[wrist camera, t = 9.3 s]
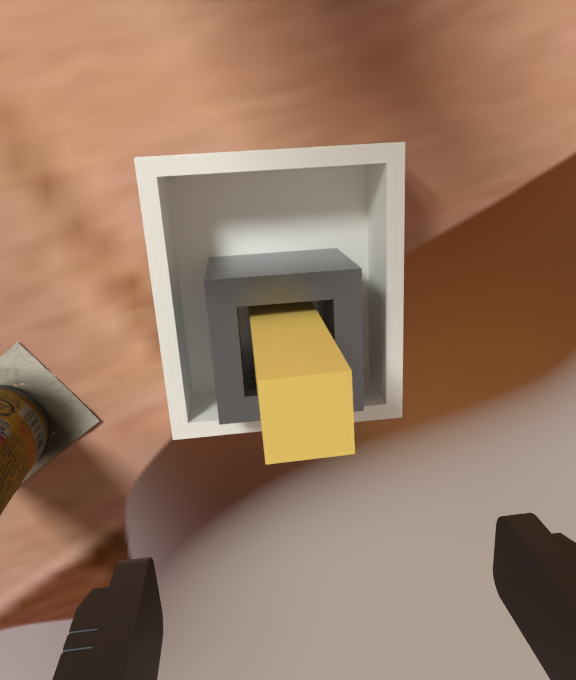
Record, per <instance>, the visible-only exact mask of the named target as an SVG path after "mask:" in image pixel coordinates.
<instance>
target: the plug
mask: <svg viewBox="0 0 576 680" xmlns="http://www.w3.org/2000/svg"><path fill="white" fill-rule="evenodd" d="M248 308H249V318H250V328H251V338H252V348H253V358H254V367H255V376H256V384H257V393H258V402H259V411H260V420H261V428H262V437H263V446H264V454H265V463H266V464H274V463H283V462H291V461H299V460H308V459H316V458H325V457H333V456H342V455H350V454H355V441H354V414H353V389H352V370H351V368H350V367H349V365H348V363H347V361H346V360H345V358H344V356H343V355H342V353H341V351H340V349H339V348H338V346H337V344H336V343H335V341H334V339H333V337H332V336H331V334H330V332H329V330H328V329H327V327H326V325H325V324H324V322H323V320H322V318H321V317H320V315H319V313H318V311H317V310H316V308H315V306H314V305H313V303H312V301H306V302H294V303H281V304H269V305H256V306H248Z"/></svg>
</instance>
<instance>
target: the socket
mask: <svg viewBox="0 0 576 680" xmlns="http://www.w3.org/2000/svg"><path fill="white" fill-rule="evenodd" d="M204 287H205V296H206V306H207V315H208V324H209V334H210V343H211V352H212V362H213V371H214V380H215V390H216V399H217V408H218V418H219V425H222V424H232V423H243V422H253V421H261V420H260V411H259V402H258V393H257V384H256V376H255V367H254V358H253V348H252V338H251V328H250V318H249V308H248V306H256V305H269V304H281V303H294V302H306V301H312V303H313V305H314V306H315V308H316V310H317V311H318V313H319V315H320V317H321V318H322V320H323V322H324V324H325V325H326V327H327V329H328V330H329V332H330V334H331V336H332V337H333V339H334V341H335V343H336V344H337V346H338V348H339V349H340V351H341V353H342V355H343V356H344V358H345V360H346V361H347V363H348V365H349V367H350V368H351V370H352V389H353V412H357V411H364V391H363V317H362V268H361V267H359V266H358V265H357V264H356V263H355V262H353V261H352V260H351V259H350V258H348V257H347V256H346V255H345V254H343V253H342V252H341V251H340V250H338V249H337V248H330V249H316V250H302V251H288V252H274V253H261V254H247V255H233V256H219V257H209V260H208V265H207V269H206V273H205V277H204Z"/></svg>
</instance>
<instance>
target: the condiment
mask: <svg viewBox="0 0 576 680" xmlns="http://www.w3.org/2000/svg"><path fill="white" fill-rule="evenodd" d="M14 383H17V386H14V385H13V384H14ZM19 383H24V384H25V385H19ZM98 422H99V420H98V419H97V418H96V417H95V416H94V415H93V414H92V413H91V411H90V410H89V409H88V408H87V407H86V406H85V405H84V404H83V403H82V402H81V401H80V400H79V399H78V398H76V397H75V396H74V394H73V393H72V392H71V391H70V390H69V389H67V388H66V387H65V386H64V385H63V384H62V383H61V382H60V381H59V380H58V379H57V378H56V377H55V376H54V375H53V374H52V373H51V372H50V371H48V370H47V369H46V368H45V367H44V366H43V365H42V364H41V363H40V362H39V361H38V360H37V359H36V358H35V357H34V356H32V355H31V354H30V353H29V352H28V351H27V350H26V349H25V348H23V347H22V346H21V345H20V344H19V343H18V342H17V343H16V344H15V345H13V346H12V347H11V348H10V349H9V350H8V351H6V352H5V353H4V354H3V355H2V356H1V357H0V515H1V513H2V512H3V510H4V509H5V507H6V505H7V504H8V502H9V501H10V499H11V498H12V496H13V495H14V493H15V492H16V490H17V489H18V487H19V486H20V485H21V484H22V483H23V482H24V481H25V480H26V479H28V478H29V477H30V476H31V475H33V474H34V473H35V472H36V471H37V470H39V469H40V468H41V467H42V466H44V465H45V464H46V463H47V462H49V461H50V460H51V459H53V458H54V457H55V456H56V455H57V454H59V453H60V452H62V451H63V450H64V449H65V448H66V447H68V446H69V445H70V444H71V443H73V442H74V441H75V440H76V439H77V438H79V437H80V436H81V435H82V434H84V433H85V432H86V431H88V430H89V429H90V428H91V427H93V426H94V425H95V424H96V423H98ZM52 432H55V434H52Z"/></svg>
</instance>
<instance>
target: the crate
mask: <svg viewBox="0 0 576 680" xmlns="http://www.w3.org/2000/svg"><path fill="white" fill-rule="evenodd" d="M134 161H135V169H136V176H137V183H138V190H139V198H140V205H141V212H142V219H143V227H144V234H145V241H146V248H147V256H148V263H149V270H150V277H151V285H152V292H153V299H154V306H155V313H156V321H157V328H158V335H159V342H160V350H161V357H162V364H163V371H164V379H165V386H166V393H167V400H168V408H169V415H170V422H171V429H172V437H173V440H176V439H186V438H196V437H207V436H217V435H227V434H238V433H248V432H258V431H262V428H261V421H253V422H243V423H232V424H222V425H219V418H218V408H217V399H216V390H215V380H214V371H213V362H212V352H211V343H210V334H209V324H208V315H207V306H206V296H205V287H204V277H205V273H206V269H207V265H208V260H209V257H219V256H233V255H247V254H261V253H274V252H288V251H302V250H316V249H330V248H337V249H338V250H340V251H341V252H342V253H343V254H345V255H346V256H347V257H348V258H350V259H351V260H352V261H353V262H355V263H356V264H357V265H358V266H359V267H361V268H362V317H363V391H364V411H357V412H353V414H354V422H361V421H371V420H381V419H392V418H402V398H403V397H402V396H403V395H402V394H403V393H402V392H403V307H404V305H403V304H404V300H403V299H404V217H405V142H391V143H374V144H357V145H340V146H322V147H305V148H288V149H270V150H253V151H236V152H218V153H201V154H184V155H167V156H149V157H134Z"/></svg>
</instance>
